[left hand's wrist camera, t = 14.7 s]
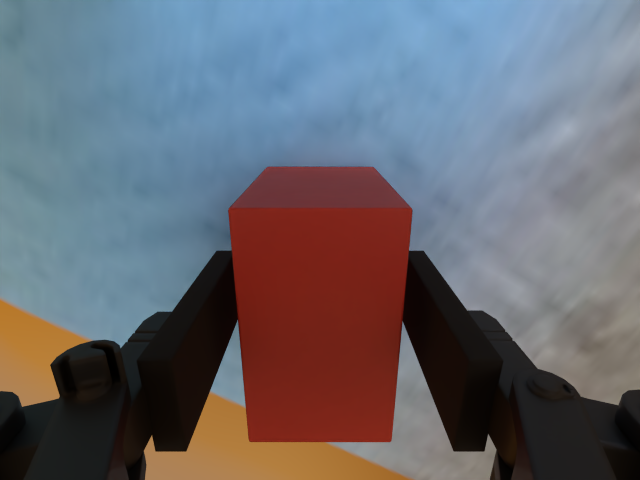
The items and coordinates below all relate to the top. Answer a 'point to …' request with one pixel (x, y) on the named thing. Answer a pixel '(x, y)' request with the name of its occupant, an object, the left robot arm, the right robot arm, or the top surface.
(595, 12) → the top surface
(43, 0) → the top surface
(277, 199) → the brick
